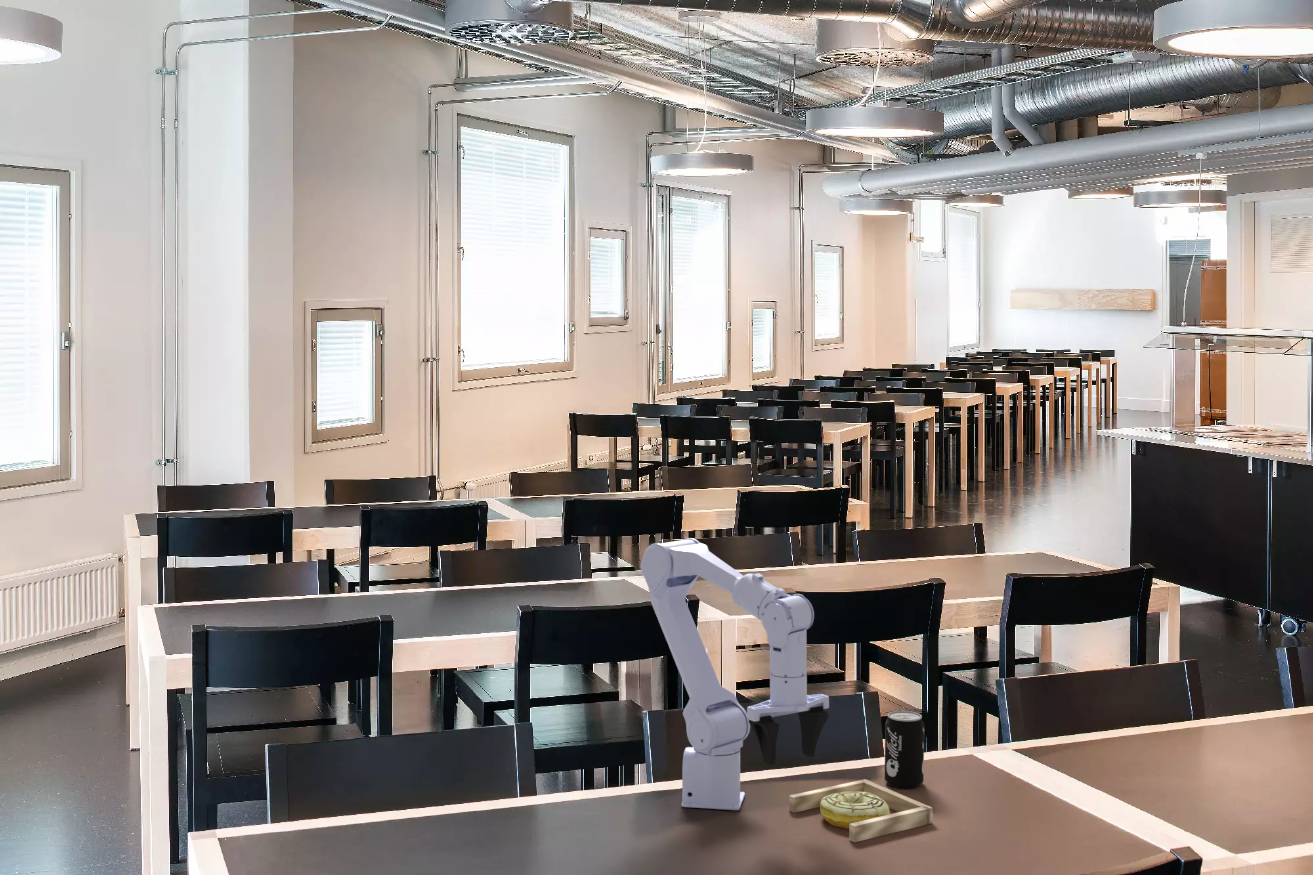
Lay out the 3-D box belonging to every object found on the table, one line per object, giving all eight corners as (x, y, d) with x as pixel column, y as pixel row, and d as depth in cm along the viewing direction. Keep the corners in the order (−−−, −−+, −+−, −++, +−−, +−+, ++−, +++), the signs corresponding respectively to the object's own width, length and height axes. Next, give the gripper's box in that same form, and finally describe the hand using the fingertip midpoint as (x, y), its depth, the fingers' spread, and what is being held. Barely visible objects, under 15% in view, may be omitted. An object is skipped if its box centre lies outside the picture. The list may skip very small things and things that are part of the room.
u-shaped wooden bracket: (854, 842, 207) (854, 826, 207) (789, 810, 221) (789, 795, 221) (932, 823, 215) (932, 807, 215) (864, 793, 229) (865, 779, 229)
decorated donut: (902, 823, 216) (902, 800, 216) (852, 837, 210) (852, 813, 210) (856, 804, 224) (856, 782, 224) (807, 818, 218) (807, 794, 218)
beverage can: (923, 791, 231) (924, 721, 230) (883, 788, 232) (884, 719, 231) (923, 779, 237) (924, 711, 236) (885, 776, 238) (886, 709, 237)
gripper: (765, 684, 206) (766, 773, 207) (841, 672, 214) (841, 757, 215) (738, 675, 212) (739, 762, 213) (813, 663, 220) (813, 747, 221)
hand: (789, 759), depth 214 cm, fingers open, 7 cm apart
